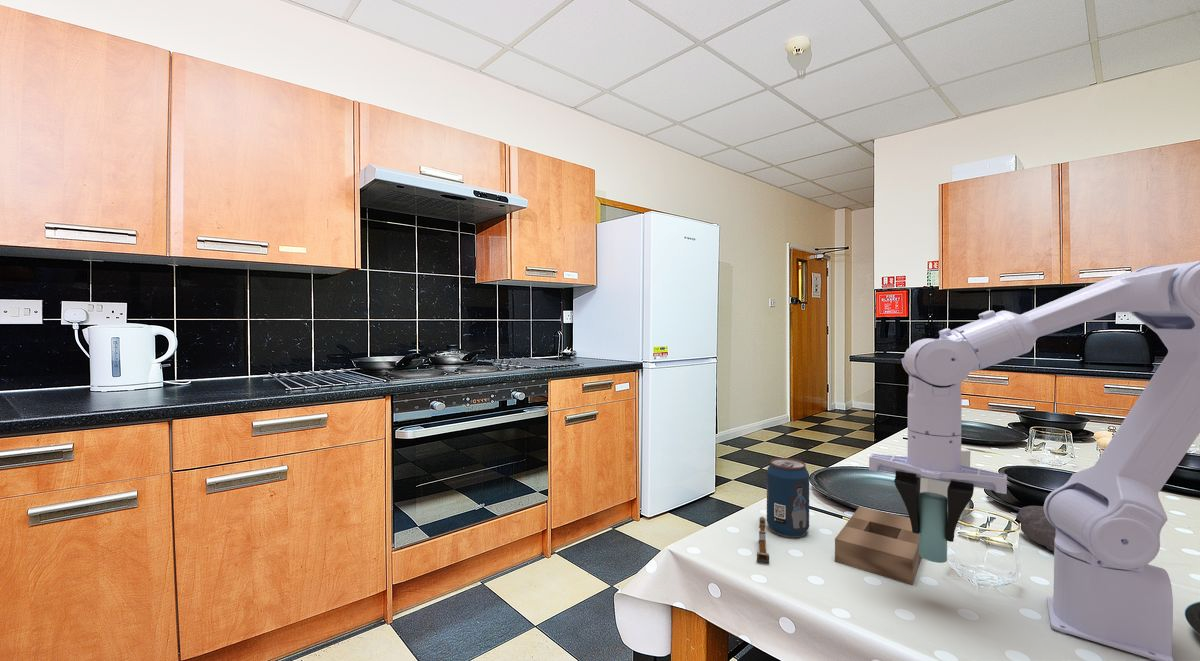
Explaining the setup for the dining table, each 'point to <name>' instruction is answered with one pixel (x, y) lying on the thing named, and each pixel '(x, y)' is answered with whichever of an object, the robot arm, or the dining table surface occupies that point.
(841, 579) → the dining table surface
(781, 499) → the soda can
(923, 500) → the peg
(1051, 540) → the perforated stone tool
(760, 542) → the brown long banded part
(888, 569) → the hole block
